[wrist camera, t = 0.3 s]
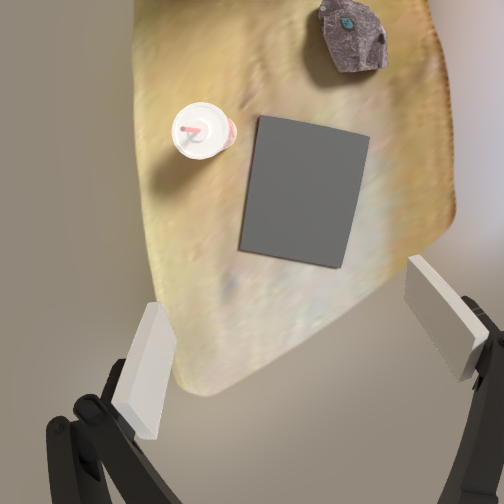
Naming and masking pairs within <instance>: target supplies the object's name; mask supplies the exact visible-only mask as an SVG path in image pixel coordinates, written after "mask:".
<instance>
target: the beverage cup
mask: <svg viewBox="0 0 504 504" xmlns="http://www.w3.org/2000/svg"><path fill="white" fill-rule="evenodd" d="M236 134H237V131H236V127H235V125H234V123H233V122H232V121H231V120H230V119H229V118H228V117H226V116H225V115H224V113H223V112H222V111H221V109H219V108H217V107H216V106H214V105H212V104H210V103H202V102H197V103H194V104H191V105H188V106H186V107H185V108H184V109H183V110H181V111H180V112H179V113H178V115H177V117H176V118H175V120H174V122H173V127H172V137H173V141H174V144H175V146H176V147H177V149H178V150H179V151H180V153H182V154H184V155H185V156H187V157H189V158H192V159H199V160H201V159H205V158H209V157H212V156H214V155H216V154H217V153H218V152H220V151H222V150H224V149H227V148H228V147H229V146H231V145H232V144H233V142H234V141H235V139H236Z"/></svg>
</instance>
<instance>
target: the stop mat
mask: <svg viewBox="0 0 504 504" xmlns="http://www.w3.org/2000/svg"><path fill="white" fill-rule="evenodd" d="M369 139H370V137H368V136H364V135H360V134H356V133H352V132H348V131H343V130H339V129H335V128H330V127H325V126H320V125H315V124H310V123H305V122H300V121H294V120H288V119H282V118H276V117H270V116H263V115H260V121H259V127H258V134H257V140H256V146H255V153H254V159H253V166H252V172H251V179H250V185H249V192H248V198H247V205H246V212H245V218H244V225H243V232H242V239H241V246H240V250H246V251H251V252H256V253H262V254H267V255H272V256H278V257H283V258H288V259H294V260H299V261H304V262H310V263H315V264H320V265H326V266H331V267H336V268H341V265H342V262H343V258H344V254H345V250H346V246H347V242H348V238H349V234H350V230H351V226H352V222H353V217H354V213H355V209H356V204H357V200H358V195H359V191H360V186H361V181H362V176H363V171H364V166H365V161H366V156H367V150H368V145H369Z"/></svg>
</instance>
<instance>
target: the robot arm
mask: <svg viewBox="0 0 504 504" xmlns="http://www.w3.org/2000/svg"><path fill="white" fill-rule="evenodd" d="M404 300H405V301H406V303H407V304H408V306H409V307H410V309H411V310H412V311H413V313H414V314H415V316H416V317H417V319H418V320H419V321H420V323H421V325H422V326H423V328H424V329H425V331H426V332H427V334H428V335H429V337H430V338H431V340H432V341H433V343H434V345H435V346H436V348H437V349H438V351H439V352H440V354H441V355H442V357H443V359H444V360H445V362H446V364H447V365H448V367H449V369H450V370H451V372H452V373H453V375H454V377H455V378H456V380H457V382H458V383H460V382H462V381H464V380H467V379H469V378H471V377H472V375H473V373H474V370H475V369H476V370H477V372H478V373H479V375H478V377H477V380H476V382H475V384H474V386H473V388H472V390H474V389H475V390H474V395H473V399H472V404H471V408H470V411H469V416H468V420H467V423H466V426H465V430H464V433H463V437H462V440H461V443H460V446H459V449H458V452H457V455H456V458H455V461H454V463H453V466H452V469H451V472H450V474H449V477H448V479H447V482H446V484H445V487H444V489H443V491H442V494H441V496H440V498H439V500H438V503H437V504H498V497H497V496H496V490H497V486H498V483H499V480H500V476H501V472H502V469H503V464H504V331H500V330H499V329H498V327H497V326H496V325H495V324H494V323H493V322H492V321H491V319H490V318H489V317H488V316H487V315H486V314H485V313H484V311H483V310H482V309H481V308H480V307H479V306H478V305H477V303H476V302H475V301H474V300H472V299H470V298H469V297H467V296H463V297H459V296H458V295H457V294H456V293H455V291H454V290H453V289H452V288H451V287H450V286H449V285H448V284H447V283H446V282H445V281H444V280H443V278H441V276H440V275H439V274H438V273H437V272H436V271H435V270H434V269H433V268H432V267H431V266H430V265H429V264H428V263H427V262H426V261H425V260H424V259H423V258H422V257H421V256H420V255H415V256H411V257H408V259H407V273H406V284H405V295H404ZM176 343H177V338H176V336H175V334H174V331H173V329H172V326H171V324H170V322H169V319H168V317H167V314H166V312H165V310H164V307H163V305H162V302H161V301H159V302H152V303H148V304H147V307H146V309H145V312H144V314H143V317H142V319H141V322H140V324H139V327H138V329H137V332H136V335H135V337H134V340H133V342H132V345H131V348H130V351H129V353H128V356H127V359H119V360H118V361H117V362H116V363H115V364H114V365H113V366H112V369H111V371H110V374H109V377H108V379H107V383H106V384H105V387H104V390H103V392H102V395H101V398H100V399H99V398H98V396H97V395H94V394H86V395H84V396H82V397H80V398H79V399H78V400H77V401H76V403H75V404H74V408H73V412H74V414H75V415H76V417H77V418H78V419H79V420H77V421H73V422H70V421H69V420H68V419H67V418H66V417H64V416H57V417H55V418H53V419H52V420H51V421H50V422H49V423H48V425H47V428H46V443H47V460H48V472H49V481H50V490H51V497H52V504H112V501H111V498H110V494H109V491H108V487H107V483H106V479H105V475H104V471H103V467H102V463H103V465H104V466H105V468H106V470H107V472H108V474H109V475H110V477H111V479H112V481H113V483H114V484H115V486H116V488H117V489H118V491H119V493H120V494H121V496H122V498H123V499H124V501H125V502H126V504H182V502H181V501H180V500H179V499H178V498H177V497H176V495H175V494H174V493H173V492H172V491H171V489H170V488H169V487H168V485H167V484H166V483H165V482H164V480H163V479H162V478H161V476H160V475H159V474H158V472H157V471H156V470H155V468H154V467H153V466H152V464H151V463H150V461H149V460H148V459H147V457H146V456H145V455H144V453H143V452H142V450H141V449H140V447H139V446H138V444H137V443H136V442H135V440H134V436H135V433H136V434H137V435H138V436H139V437H140V438H141V439H157V435H158V430H159V424H160V419H161V414H162V409H163V404H164V398H165V394H166V389H167V384H168V379H169V375H170V370H171V366H172V361H173V357H174V352H175V348H176ZM101 461H102V462H101Z"/></svg>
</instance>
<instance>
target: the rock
mask: <svg viewBox="0 0 504 504" xmlns="http://www.w3.org/2000/svg"><path fill="white" fill-rule="evenodd" d="M317 17H318V18H319V21H320V23H321V32H322V34H323V37H324V39H325V42H326V45H327V48H328V50H329V52H330V55H331V58H332V60H333V63H334V65H335V67H336V70H337V71H338V72H357V71H363V70H372V69H378V68H384V67H386V66H387V65H388V60H387V59H388V54H387V51H386V50H387V34H386V32H385V31H384V29H383V27H382V24H381V22H380V20H379V18H378V17H377V16H376V15H375V14H374V12H373V11H371V10H370V8H369V7H368V6H365V5H363V4H361V3H358V2H354V1H352V0H323V1H322V4H321V5H320V7H319V13H318V15H317Z"/></svg>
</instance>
